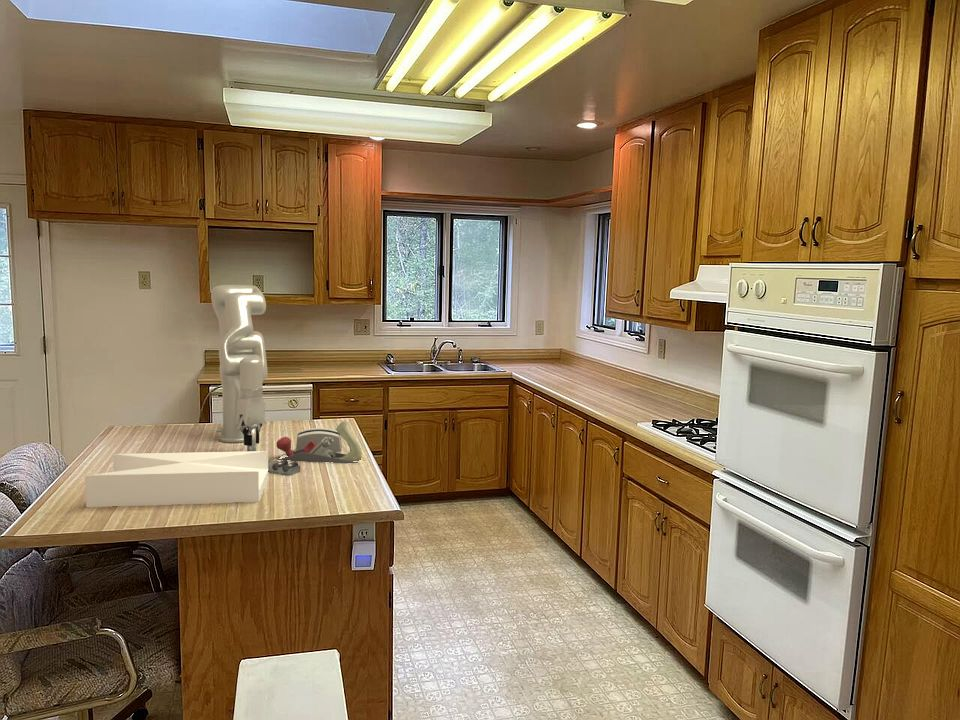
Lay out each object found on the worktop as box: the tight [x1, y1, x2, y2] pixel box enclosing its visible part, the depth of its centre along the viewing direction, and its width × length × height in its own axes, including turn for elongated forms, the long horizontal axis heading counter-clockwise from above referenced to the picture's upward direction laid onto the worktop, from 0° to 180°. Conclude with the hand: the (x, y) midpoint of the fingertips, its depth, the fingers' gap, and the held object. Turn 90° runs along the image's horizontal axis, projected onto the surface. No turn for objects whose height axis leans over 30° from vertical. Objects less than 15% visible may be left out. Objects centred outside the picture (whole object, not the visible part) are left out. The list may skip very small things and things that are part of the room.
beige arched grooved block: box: [295, 427, 343, 452], centre depth 248 cm, size 17×5×10 cm, turn 100°
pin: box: [246, 424, 257, 451], centre depth 238 cm, size 4×4×11 cm
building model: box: [84, 450, 269, 508], centre depth 198 cm, size 45×22×10 cm, turn 101°
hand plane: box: [276, 419, 363, 464], centre depth 237 cm, size 7×31×15 cm, turn 87°
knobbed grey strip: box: [268, 459, 301, 476], centre depth 226 cm, size 32×7×3 cm, turn 68°
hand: (251, 443), depth 239 cm, fingers closed on pin, 3 cm apart
